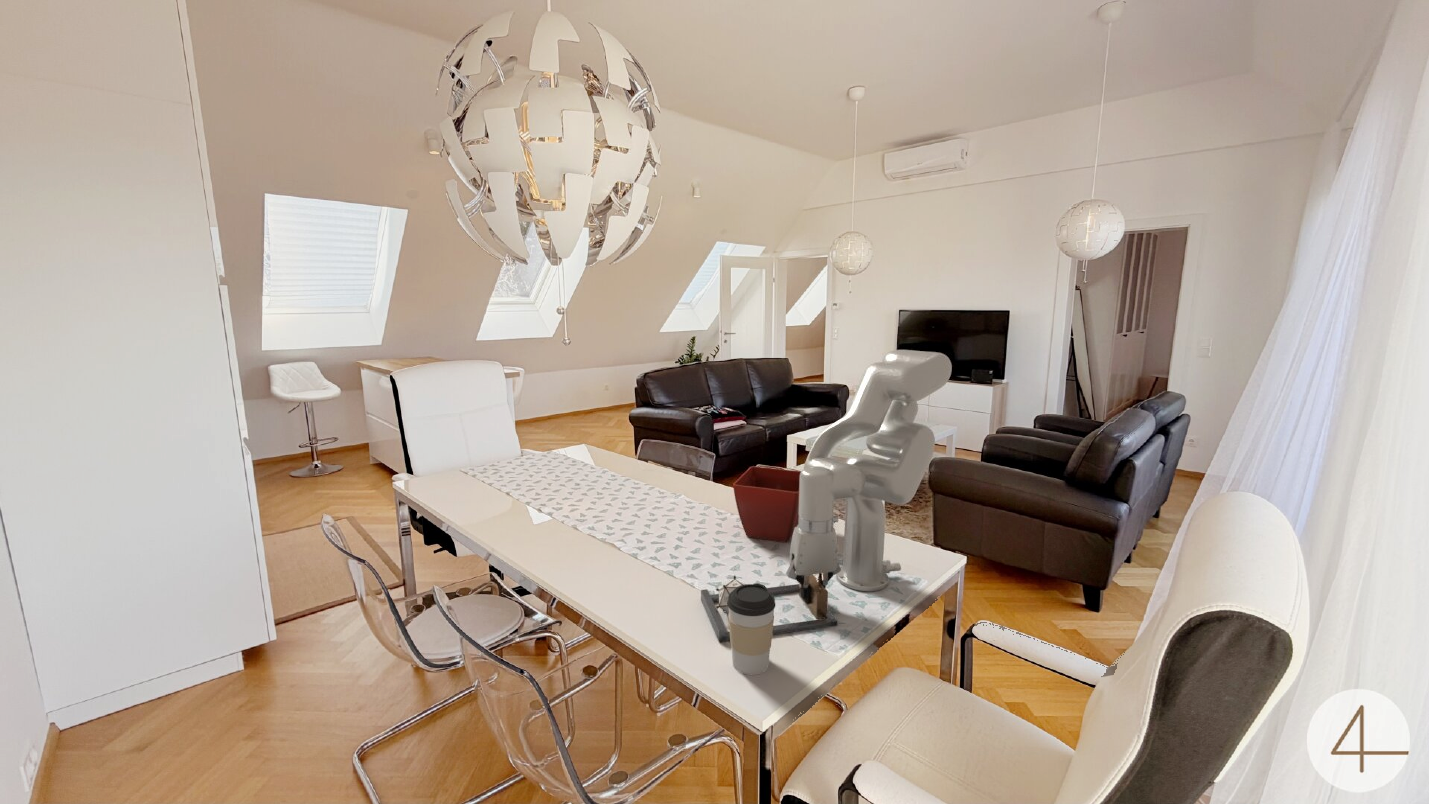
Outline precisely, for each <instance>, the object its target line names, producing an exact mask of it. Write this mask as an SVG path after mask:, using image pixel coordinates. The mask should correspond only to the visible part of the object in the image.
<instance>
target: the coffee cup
mask: <svg viewBox="0 0 1429 804" xmlns="http://www.w3.org/2000/svg"><path fill="white" fill-rule="evenodd" d="M767 588H768V587H766V586H765V584H764V585H763V584H762V583H758V582H756V583H753V584H750V583H747V584H743V585H741V586H738V587H736V588H735V589H734V590H733V591H732V592H731V593H730V594H729V596H728V601H727V605H728V607H729V614H728V613H727V614H728V615H727V616H728V617H727V618H728V626H729V630H728V631H729V632H730V646H731V647H730V648H731V659H732V665H733V666H732V667H734V670H737V671H738V672H739V673H741V674H745V675H749V676H750V675H751V676H752V675H754V676H755V675H759V674H762V673H764V672H766V671H767V669H768V668H769V662H770V652H771V648H772V642H773V641H772V639H773V635H772V632H773V626H774V623H775V615H774V614H775V608H776V598H775V596H774V594H773V595H772V594H771V593H770V592H768V590H767Z"/></svg>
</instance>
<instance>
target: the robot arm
mask: <svg viewBox="0 0 1429 804" xmlns="http://www.w3.org/2000/svg"><path fill="white" fill-rule="evenodd" d="M952 367H953V365H952V362H951V360H950V358H949V357H948V356H947V355H946V354H944V353H942V352H936V351H922V350H921V351H920V350H913V349H910V350H909V349H893V350H890V351H888V352H887V353H886V354H885V355H884V356H883V359H882V360H881V362H874V363H872V364H870V365H868V366H867V367H866V369H865V370H864V373H863V374H862V376H861V379H860V381H859V384H858V385H857V387H856V390H855V393H854V395H853V397H852V400H851V402H850V403H849V406H848V408H847V411H846V413H845V414H844V415H843V416H842V417H841V418H840V419H838V420H836V421H835V422H833V423H832V424H831V425H830V426H828V427H827V428H826V429H824V430H823V431H822V432H821V433H820V434H819V435H817V438H815V440H814V442H813V444H812V446H811V448H810V451H809V453H808V455H807V457H806V459H805V462H804V465H803V469H802V470H800V471H801V473H800V479H799V514H798V526H797V527H795V528H794V532H793V535H792V537H791V540H790V542H791V543H790V550H789V559H788V562H789V564H788V565H789V566H788V569H787V571H786V572H785V573H786V574H785V575H786V576H787V577H788V578H789V579H791V580H794V581H796V582H797V583H798V584H799V583H800V584H801V598H802V599H803V600H804V601H805V602H806V604H810V595H811V588H810V587H809V576H810V575H811V574H813V575H817V580H818V581H819V582H820V583H821V584H822V585H823V587H824V588H825V589H826V586H828V584H829V581H830V580H831V579H832V578H833V577H834V576H835V575H836V576H835V577H836V579H837V581H838V582H839V583H840V584H841V585H843V586H845V587H847V588H848V589H852V590H856V591H862V592H875V591H879V590H880V591H881V590H883V589H884V588H886V587H888V585H889V583H890V581H889V580H890V578H889V575H888V574H890V572H899V571H901V570H902V566H901V563H899V562H893V563H892V562H891V560H889V559H887V560H885V559H884V551H885V548H884V547H885V534H886V522H887V521H886V519H887V517H886V516H887V515H886V508H885V505H884V502H887V503H890V504H894V505H899V506H901V505H907V504H908V503H909V502H911V500H912V499H913V498H914V496H915V495H916V494H917V493H916V492H917V490H918V489H919V487H920V484H921V482H922V480H923V478H924V476H925V474H926V471H927V469H928V467H929V465H930V463H931V460H932V458H933V455H934V451H935V447H936V438H935V434H934V432H933V430H932V429H931V428H930V427H929V426H927V425H924V424H922V423H918V422H915V419H916V416H917V415H918V411H919V406H918V402H919V401H921V400H923V399H925V398H926V397H928V396H930V395H932V394H933V393H935V392H937V391H939V390H941V388H943V387H944V386H945V385H946V384H947V383H948V381H949V379H950V377H951V375H952ZM863 437H866V440H865V441H866V442H865V443H866V447H867V449H868V451H870V452H871V453H873V454H875V455H878V456H874V455H870V454H865V453H864V454H862V453H861V454H860V453H859V454H855V455H852V456H850V457H849V458H847V460H846V461H845V462H844V461H841V460H838V459H833V458H831V457H832V456H833V454H834V453H835V451H836V450H838V448H839V447H840V446H842V445H844V444H845V443H847V442H850V441H853V440H856V439H859V438H863ZM880 456H881V457H880ZM883 457H884V458H883ZM886 458H888V459H886ZM890 459H893V460H890ZM895 460H896V461H895ZM841 499H842V500H843V499H845V518H844V535H843V537H844V538H843V554H842V555H843V556H842V557H843V559H842V566H840V564H839V552H838V551H839V549H838V548H839V547H838V540H837V538H838V537H837V532H836V528H835V527H834V526H835V525H834V524H836V523H838V522H839V516H837V515H836V516H835V515H834V505H835V504H834V503H835V500H841ZM883 501H884V502H883ZM801 598H800V599H801ZM802 599H801V600H802ZM803 600H802V601H803ZM806 604H805V605H806Z"/></svg>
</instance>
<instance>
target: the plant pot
mask: <svg viewBox="0 0 1429 804" xmlns="http://www.w3.org/2000/svg"><path fill="white" fill-rule="evenodd" d="M801 471H802V470H800V471H799V470H791V469H784V468H783V469H782V468H773V467H765V466H764V467H763V466H754V465H753V466H749V467H748V469H747V470H746V471H744V473H742V474H741V476H740V477H739V478H737V480H736V481H734V482H733V484H732V486H733V487H732V488H733V493H734V500H735V503H736V508H737V512H738V516H739V519H740V522H741V525H742V528H743V531H744V533H745V536H746V537H749V538H754V539H759V540H760V539H761V540H767V541H768V540H769V541H772V542H773V541H774V542H780V543H789V542H791V540H792V536H793V532H794V528H795V527H798V514H799V479H800V473H801Z"/></svg>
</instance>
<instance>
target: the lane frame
mask: <svg viewBox="0 0 1429 804" xmlns="http://www.w3.org/2000/svg"><path fill="white" fill-rule="evenodd" d="M809 587H810V588H811V595H810V604H806V602H805V601H804V600H803V599H802V598H801V584H800V583H799V582H798V584H797V583H796V584H789V585H782V586H781V585H780V586H772V587H766V588H767V590H768V592H770V593H771V594H772V595H773V596H774V595H780V594H787V593H796V592H798V596H799V597H800V599H801V600H802V601H803V604H804V605H805V606H806V607H807V609H809V611H810V612H811V614H812V615H813V616H814V618H815V619H813V620H805V621H799V622H798V621H797V622H792V623H784V624H776V625H775V624H774V625H773V632H772V636H774V635H779V634H787V633H793V632H800V631H807V630H815V629H821V628H827V627H835V626H838V619H836V617H835V616H834V615H833V614H832V612H830V610H829V609H828V600H829V599H828V596H829V591H828V590H827V589H826V588H824V587H823V585H822V584H821V583H820V582H819V581H818V577H816V576H815V574H811V575H810V576H809ZM700 601H701V603H702V605H703V609H704V610H705V612H706V615H707V618H708V620H709V622H710V623H709V624H711V627H712V629H713V632H714V635H715V637H716V639H717V641H718V643H722V642H729V641H730V631H727V629H726V627H725V624H724V622H723V620H722V617H721V616H720V613H719V612H718V609H717V608H716V605H715V602H719V593H715V594H710V592H709V589H707V588H706V589H701V590H700Z"/></svg>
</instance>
